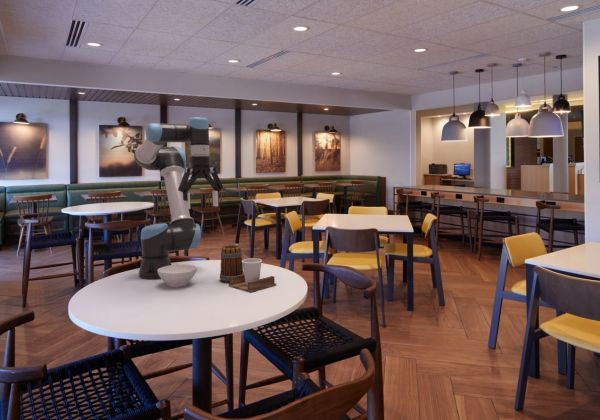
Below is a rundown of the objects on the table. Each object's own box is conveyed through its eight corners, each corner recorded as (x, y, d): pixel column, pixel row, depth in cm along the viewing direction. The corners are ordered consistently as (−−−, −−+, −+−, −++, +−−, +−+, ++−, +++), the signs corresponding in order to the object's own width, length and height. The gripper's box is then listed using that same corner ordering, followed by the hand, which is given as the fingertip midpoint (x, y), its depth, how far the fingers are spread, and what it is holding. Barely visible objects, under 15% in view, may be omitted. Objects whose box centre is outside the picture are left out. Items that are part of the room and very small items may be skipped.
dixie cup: (239, 282, 185) (239, 259, 184) (258, 280, 189) (258, 257, 188) (245, 287, 178) (245, 263, 177) (265, 285, 181) (264, 261, 180)
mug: (239, 284, 186) (238, 249, 185) (216, 283, 188) (215, 248, 187) (250, 274, 202) (250, 242, 200) (229, 274, 204) (228, 242, 202)
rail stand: (228, 286, 183) (228, 277, 183) (254, 279, 193) (254, 271, 193) (250, 292, 173) (250, 283, 173) (276, 285, 183) (276, 276, 183)
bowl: (161, 292, 175) (161, 275, 175) (155, 283, 190) (154, 267, 189) (201, 286, 183) (201, 270, 182) (192, 278, 197) (191, 262, 196)
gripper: (178, 155, 169) (180, 210, 171) (230, 155, 187) (231, 205, 189) (167, 155, 174) (170, 209, 177) (219, 156, 192) (221, 204, 194)
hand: (202, 207), depth 183 cm, fingers open, 13 cm apart
